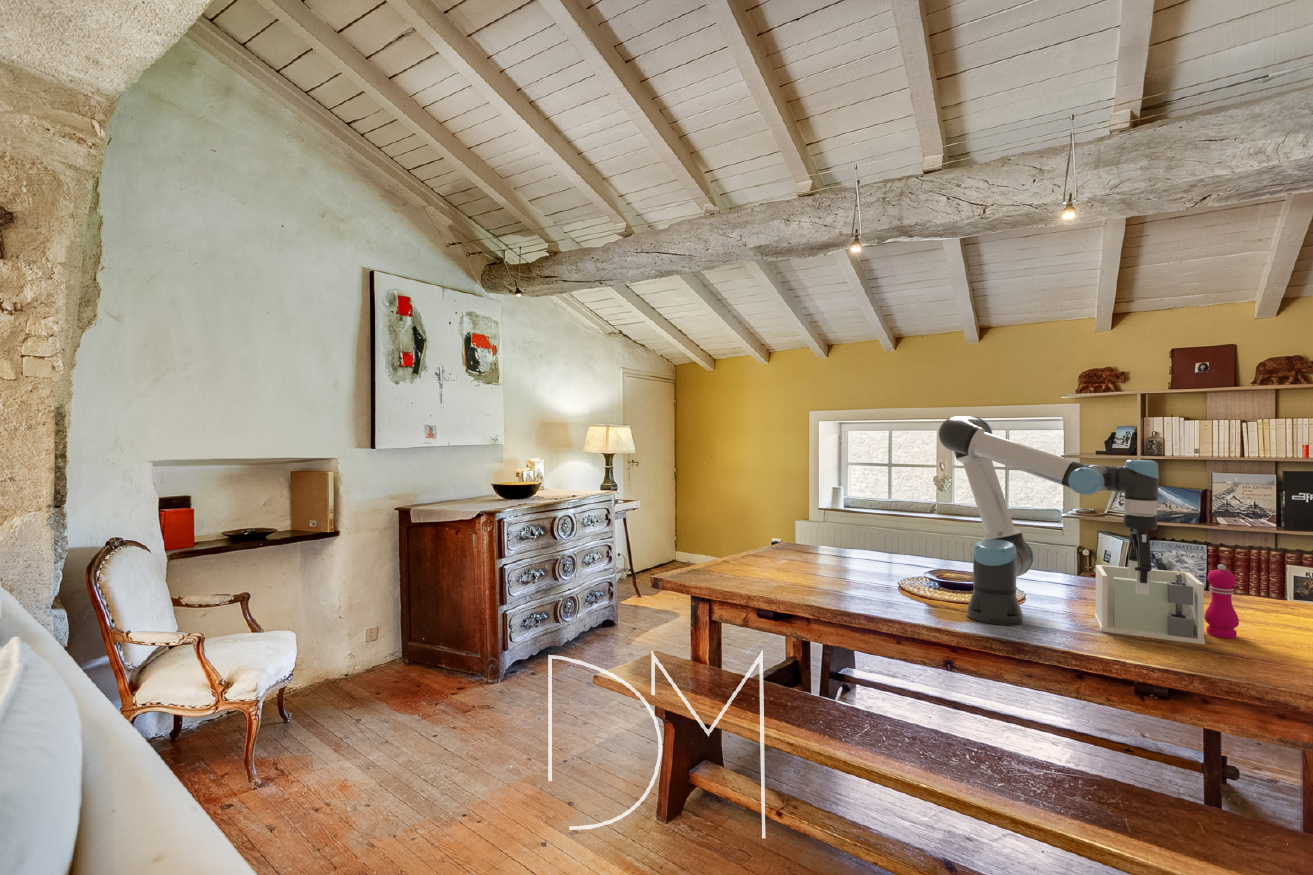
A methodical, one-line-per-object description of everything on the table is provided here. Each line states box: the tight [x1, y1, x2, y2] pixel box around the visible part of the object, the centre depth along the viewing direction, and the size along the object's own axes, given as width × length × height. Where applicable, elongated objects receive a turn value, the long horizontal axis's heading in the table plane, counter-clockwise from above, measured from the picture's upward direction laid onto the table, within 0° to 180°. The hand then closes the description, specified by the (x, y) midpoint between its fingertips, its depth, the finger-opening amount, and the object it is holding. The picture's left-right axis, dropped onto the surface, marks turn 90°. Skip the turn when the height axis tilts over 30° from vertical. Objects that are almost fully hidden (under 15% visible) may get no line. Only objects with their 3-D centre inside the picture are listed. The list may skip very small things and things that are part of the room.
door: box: [1113, 577, 1193, 638], centre depth 176 cm, size 17×5×14 cm, turn 60°
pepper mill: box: [1204, 563, 1240, 640], centre depth 175 cm, size 7×7×20 cm
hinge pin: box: [1176, 574, 1182, 618], centre depth 173 cm, size 1×1×17 cm
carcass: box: [1094, 564, 1206, 645], centre depth 180 cm, size 23×16×16 cm
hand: (1137, 588), depth 177 cm, fingers open, 13 cm apart
